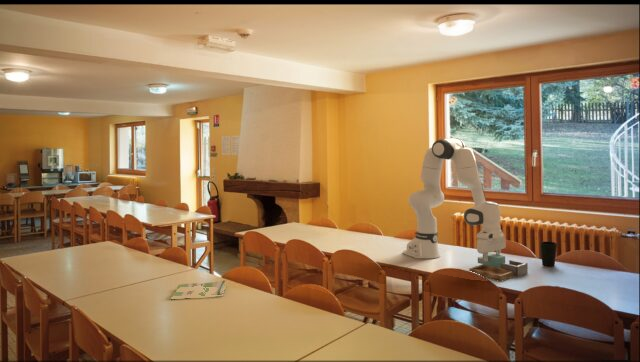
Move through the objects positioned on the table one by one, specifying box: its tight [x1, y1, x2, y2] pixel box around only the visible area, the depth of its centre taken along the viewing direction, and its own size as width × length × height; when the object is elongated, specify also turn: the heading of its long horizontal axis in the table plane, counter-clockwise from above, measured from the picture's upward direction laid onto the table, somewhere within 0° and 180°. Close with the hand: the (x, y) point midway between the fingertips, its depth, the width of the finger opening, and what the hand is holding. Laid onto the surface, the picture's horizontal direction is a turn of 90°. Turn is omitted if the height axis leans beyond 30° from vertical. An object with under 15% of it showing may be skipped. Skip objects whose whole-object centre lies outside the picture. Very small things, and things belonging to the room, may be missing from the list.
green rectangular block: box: [477, 252, 506, 268], centre depth 221 cm, size 13×6×7 cm, turn 35°
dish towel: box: [170, 279, 227, 298], centre depth 197 cm, size 17×23×4 cm
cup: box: [540, 241, 558, 268], centre depth 221 cm, size 8×8×12 cm
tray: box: [468, 264, 515, 282], centre depth 209 cm, size 17×11×2 cm, turn 35°
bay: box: [500, 259, 529, 278], centre depth 211 cm, size 9×9×5 cm
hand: (492, 259), depth 220 cm, fingers open, 8 cm apart
